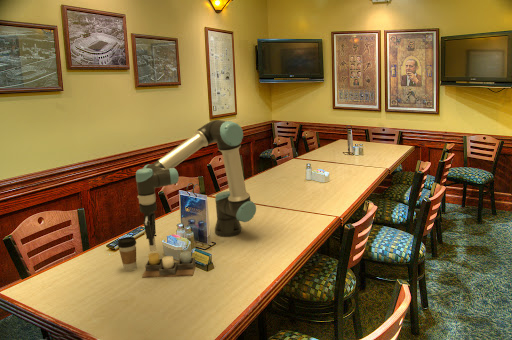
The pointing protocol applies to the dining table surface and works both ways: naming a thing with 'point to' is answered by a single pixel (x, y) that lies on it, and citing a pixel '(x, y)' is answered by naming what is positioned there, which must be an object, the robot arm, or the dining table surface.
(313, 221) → the dining table surface
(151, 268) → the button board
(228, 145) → the robot arm
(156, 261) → the mustard button
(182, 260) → the slate button
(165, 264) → the beige round cylinder
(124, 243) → the coffee cup
